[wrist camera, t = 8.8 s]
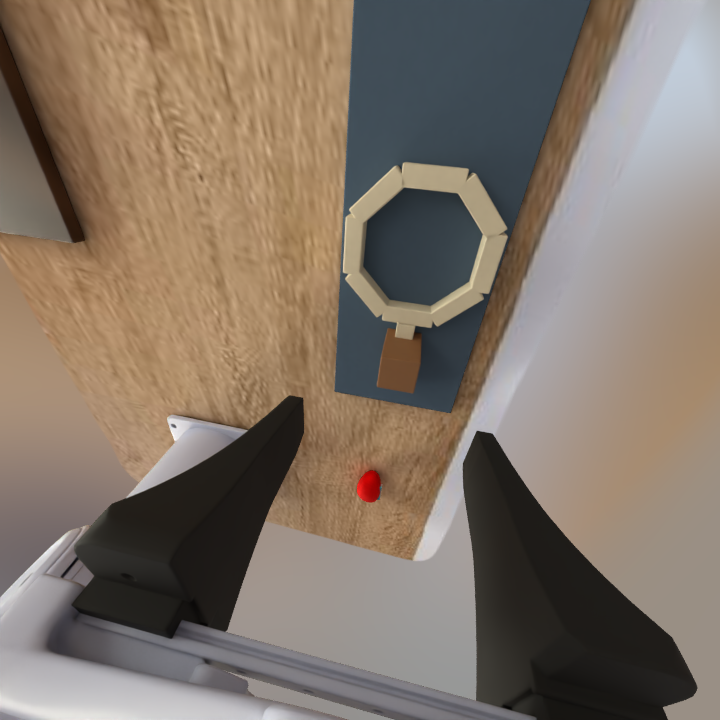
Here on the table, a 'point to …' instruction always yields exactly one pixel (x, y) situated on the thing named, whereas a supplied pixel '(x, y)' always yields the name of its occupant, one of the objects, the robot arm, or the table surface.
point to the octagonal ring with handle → (403, 342)
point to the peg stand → (28, 167)
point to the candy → (369, 486)
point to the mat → (441, 161)
